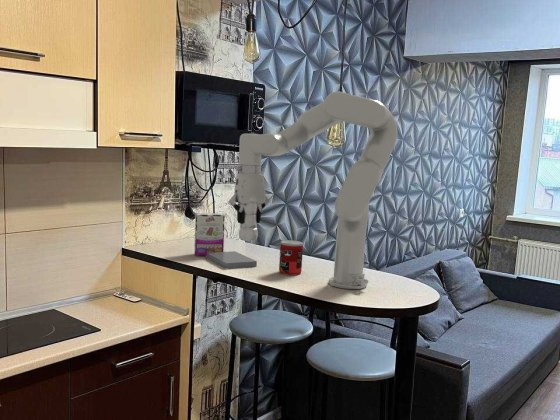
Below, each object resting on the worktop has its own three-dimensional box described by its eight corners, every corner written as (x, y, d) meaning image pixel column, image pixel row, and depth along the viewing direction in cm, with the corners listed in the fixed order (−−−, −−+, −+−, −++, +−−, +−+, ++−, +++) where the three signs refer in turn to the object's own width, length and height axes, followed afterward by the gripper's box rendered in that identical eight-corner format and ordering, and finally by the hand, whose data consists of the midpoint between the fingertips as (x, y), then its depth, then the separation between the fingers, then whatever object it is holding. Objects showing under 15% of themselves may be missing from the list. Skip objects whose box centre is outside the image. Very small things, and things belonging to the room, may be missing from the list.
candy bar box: (221, 253, 217) (223, 213, 215) (223, 256, 213) (225, 214, 210) (193, 253, 215) (195, 212, 213) (194, 256, 210) (196, 214, 208)
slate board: (256, 266, 199) (256, 261, 199) (226, 268, 193) (226, 263, 192) (234, 256, 214) (234, 251, 214) (206, 258, 208) (206, 252, 208)
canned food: (275, 270, 194) (277, 240, 193) (296, 269, 197) (298, 240, 196) (283, 275, 187) (284, 244, 186) (304, 275, 190) (306, 244, 189)
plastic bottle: (234, 240, 188) (235, 183, 186) (250, 238, 193) (251, 182, 190) (246, 243, 183) (247, 184, 181) (261, 241, 188) (262, 183, 185)
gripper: (232, 170, 177) (231, 225, 180) (277, 170, 186) (275, 223, 188) (222, 169, 184) (221, 222, 186) (266, 169, 193) (265, 220, 195)
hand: (248, 222), depth 187 cm, fingers closed on plastic bottle, 5 cm apart
